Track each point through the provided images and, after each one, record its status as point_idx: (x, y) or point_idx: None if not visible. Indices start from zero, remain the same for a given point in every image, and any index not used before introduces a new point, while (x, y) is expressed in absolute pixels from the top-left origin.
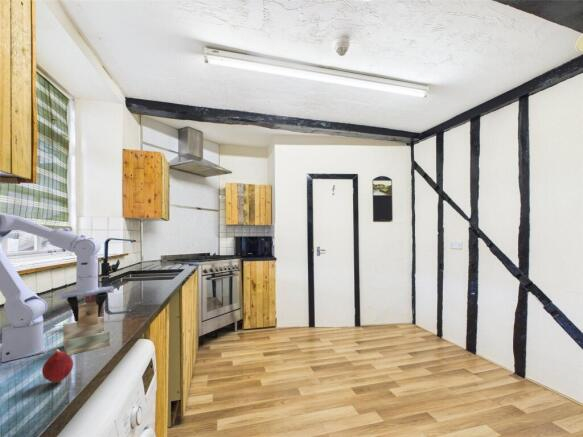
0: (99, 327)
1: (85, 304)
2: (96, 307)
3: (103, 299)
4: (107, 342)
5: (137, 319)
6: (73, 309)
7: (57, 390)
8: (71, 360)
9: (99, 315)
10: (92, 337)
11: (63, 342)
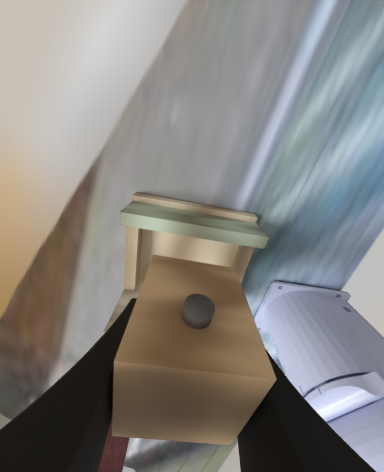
0: None
1: (185, 431)
2: (134, 343)
3: (15, 441)
4: (140, 196)
5: (21, 339)
6: (293, 389)
7: None
8: None
9: (128, 303)
10: (185, 220)
11: None
